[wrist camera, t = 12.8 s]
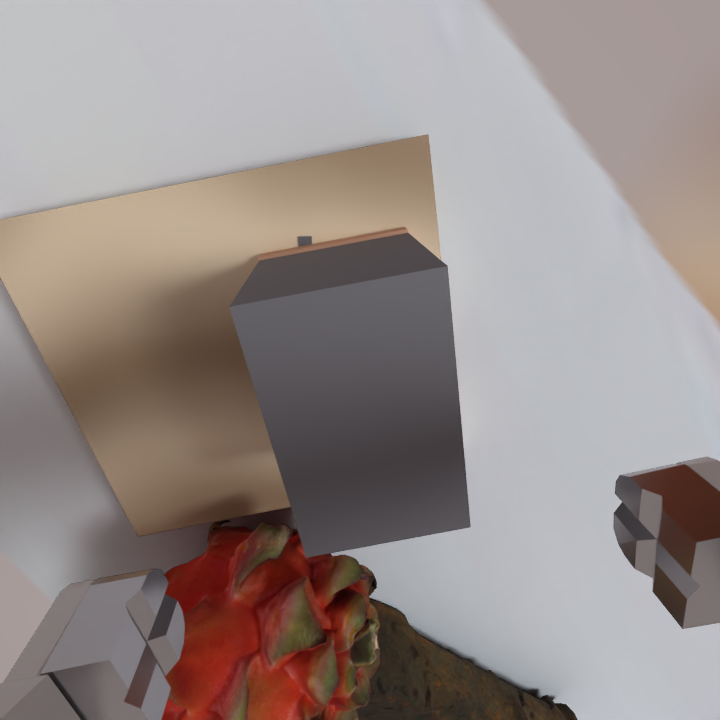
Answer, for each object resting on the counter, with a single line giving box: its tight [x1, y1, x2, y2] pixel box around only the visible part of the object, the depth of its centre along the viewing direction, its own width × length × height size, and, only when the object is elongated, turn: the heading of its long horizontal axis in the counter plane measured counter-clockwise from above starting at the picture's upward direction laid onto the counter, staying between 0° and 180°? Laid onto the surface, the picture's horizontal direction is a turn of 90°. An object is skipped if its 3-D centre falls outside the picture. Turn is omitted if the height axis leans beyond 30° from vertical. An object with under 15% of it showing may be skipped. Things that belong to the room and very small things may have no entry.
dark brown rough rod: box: [356, 600, 577, 720], centre depth 22 cm, size 19×4×5 cm, turn 46°
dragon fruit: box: [161, 519, 380, 720], centre depth 17 cm, size 8×8×12 cm
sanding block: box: [229, 227, 470, 558], centre depth 13 cm, size 7×4×5 cm, turn 10°
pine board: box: [0, 134, 441, 537], centre depth 16 cm, size 12×13×2 cm
